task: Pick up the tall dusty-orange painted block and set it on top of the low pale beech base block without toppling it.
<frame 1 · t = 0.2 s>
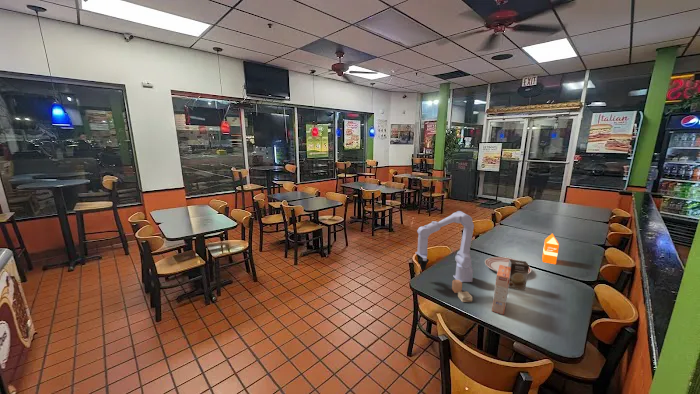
hand: (421, 266, 165), 10 cm above the table, fingers open, 7 cm apart
dinner plate: (506, 269, 182), on the table
coffee box: (515, 287, 160), on the table
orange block: (456, 290, 156), on the table
cracker box: (499, 306, 142), on the table
orange juice: (548, 261, 194), on the table
beech base: (464, 299, 149), on the table
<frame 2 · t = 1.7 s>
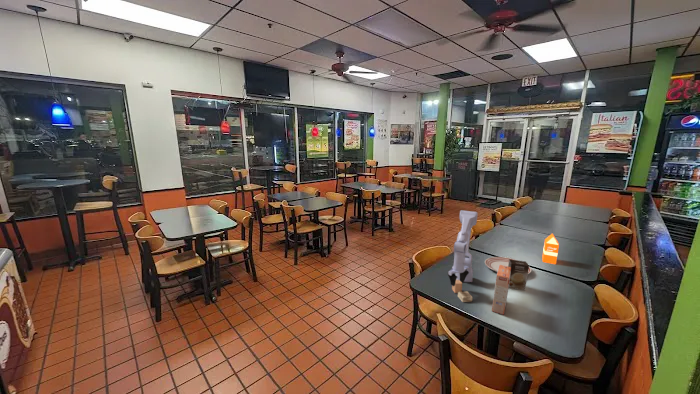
hand: (457, 283, 155), 5 cm above the table, fingers open, 7 cm apart
nothing on the table moved.
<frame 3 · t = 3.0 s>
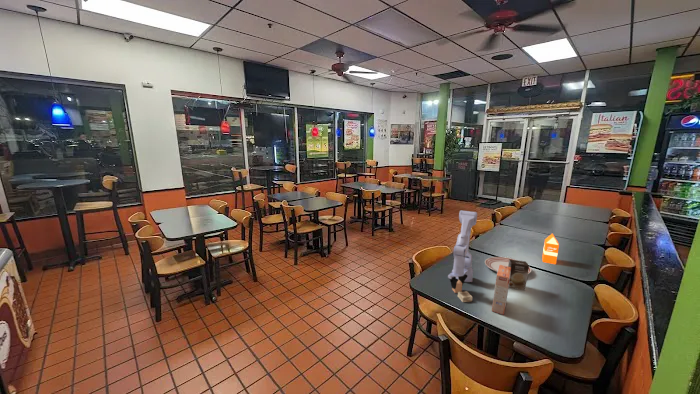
hand: (457, 286, 156), 3 cm above the table, fingers closed on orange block, 5 cm apart
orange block: (456, 290, 156), on the table, touching gripper
everything else where it was.
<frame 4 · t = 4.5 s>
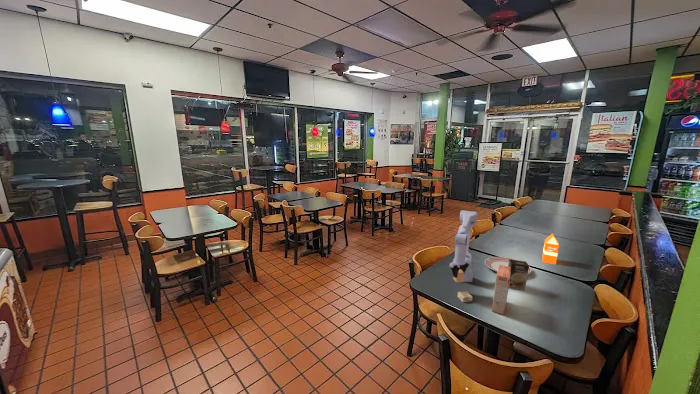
hand: (458, 275, 154), 10 cm above the table, fingers closed on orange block, 5 cm apart
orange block: (458, 280, 154), point 7 cm above the table, touching gripper
everything else where it was.
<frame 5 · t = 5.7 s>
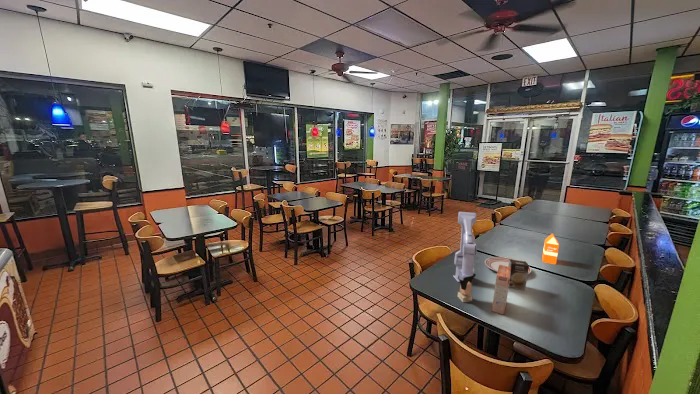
hand: (465, 287, 147), 7 cm above the table, fingers closed on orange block, 5 cm apart
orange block: (465, 292, 148), point 4 cm above the table, touching gripper
everything else where it was.
when the fingers open (7 cm above the table, at t = 6.3 s): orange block stays where it is, resting on beech base.
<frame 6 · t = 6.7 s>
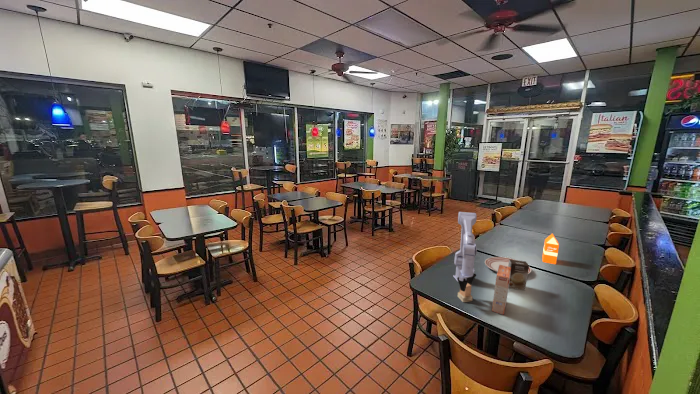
hand: (465, 288, 147), 7 cm above the table, fingers open, 7 cm apart
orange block: (465, 294, 148), point 3 cm above the table, touching beech base
beech base: (464, 299, 149), on the table, touching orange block
everything else where it was.
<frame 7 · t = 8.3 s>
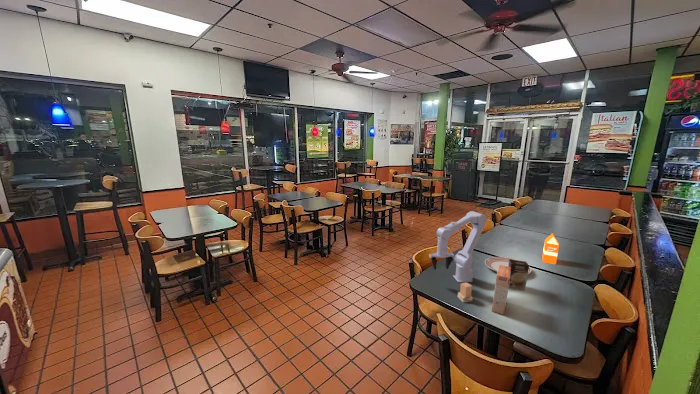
hand: (440, 268, 162), 10 cm above the table, fingers open, 7 cm apart
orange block: (465, 294, 148), point 3 cm above the table
beech base: (464, 299, 149), on the table
everything else where it was.
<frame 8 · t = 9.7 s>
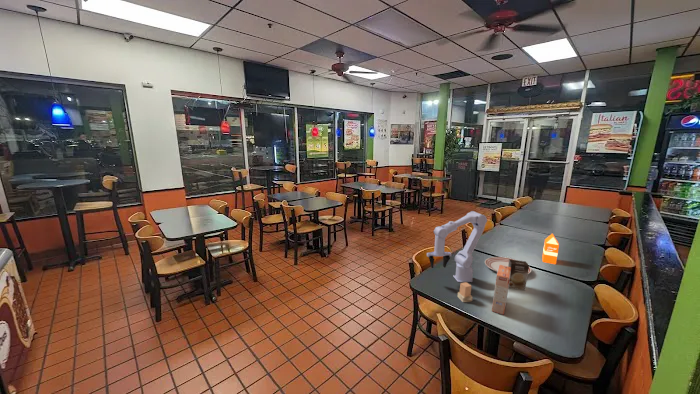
hand: (438, 267, 164), 10 cm above the table, fingers open, 7 cm apart
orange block: (464, 294, 148), point 3 cm above the table, touching beech base
beech base: (464, 299, 149), on the table, touching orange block
everything else where it was.
at the end: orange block 0.2 cm off-centre on the beech base, point 3.0 cm above the beech base's base; beech base tilted 0°; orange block tilted 0° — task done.
